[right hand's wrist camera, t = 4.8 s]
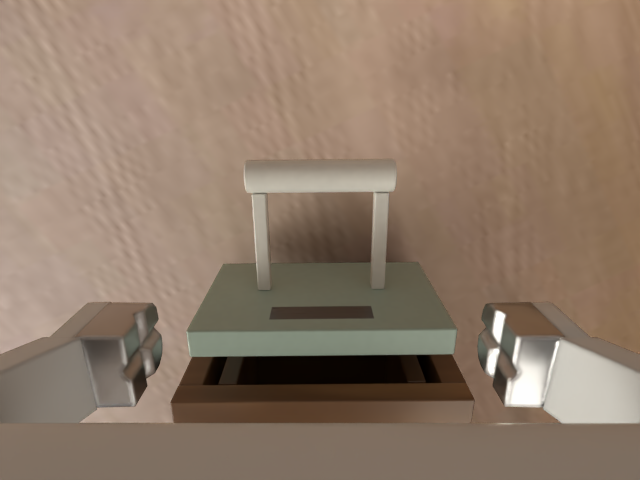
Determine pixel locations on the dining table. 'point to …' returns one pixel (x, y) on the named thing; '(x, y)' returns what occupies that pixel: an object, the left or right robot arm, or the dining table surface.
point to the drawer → (321, 296)
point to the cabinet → (324, 398)
